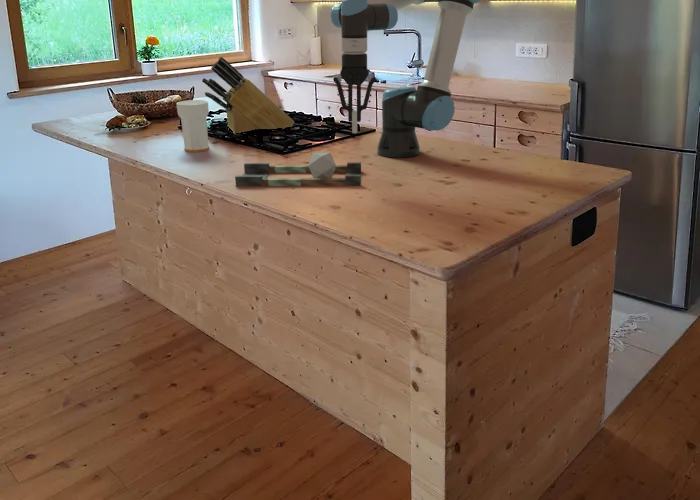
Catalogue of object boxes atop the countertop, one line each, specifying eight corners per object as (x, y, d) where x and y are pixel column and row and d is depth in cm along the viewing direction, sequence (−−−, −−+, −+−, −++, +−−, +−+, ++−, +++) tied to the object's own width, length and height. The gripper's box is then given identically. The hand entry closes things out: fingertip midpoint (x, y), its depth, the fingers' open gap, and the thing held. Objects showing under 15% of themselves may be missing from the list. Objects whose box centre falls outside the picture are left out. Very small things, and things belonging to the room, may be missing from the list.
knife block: (205, 132, 287) (198, 55, 276) (286, 125, 300) (283, 51, 289) (211, 138, 277) (204, 58, 266) (295, 129, 290) (292, 53, 279)
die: (326, 186, 213) (342, 158, 213) (301, 171, 213) (317, 143, 213) (326, 188, 222) (342, 161, 222) (302, 174, 222) (318, 147, 222)
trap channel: (361, 171, 227) (361, 162, 225) (360, 185, 211) (360, 176, 210) (245, 171, 228) (244, 162, 227) (235, 186, 212) (235, 176, 211)
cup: (218, 147, 261) (214, 101, 255) (197, 154, 252) (192, 106, 246) (196, 144, 267) (192, 99, 260) (174, 150, 258) (169, 103, 251)
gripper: (331, 54, 201) (332, 134, 210) (376, 53, 201) (375, 134, 209) (333, 51, 208) (334, 129, 217) (376, 51, 208) (375, 129, 216)
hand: (354, 132), depth 213 cm, fingers closed
